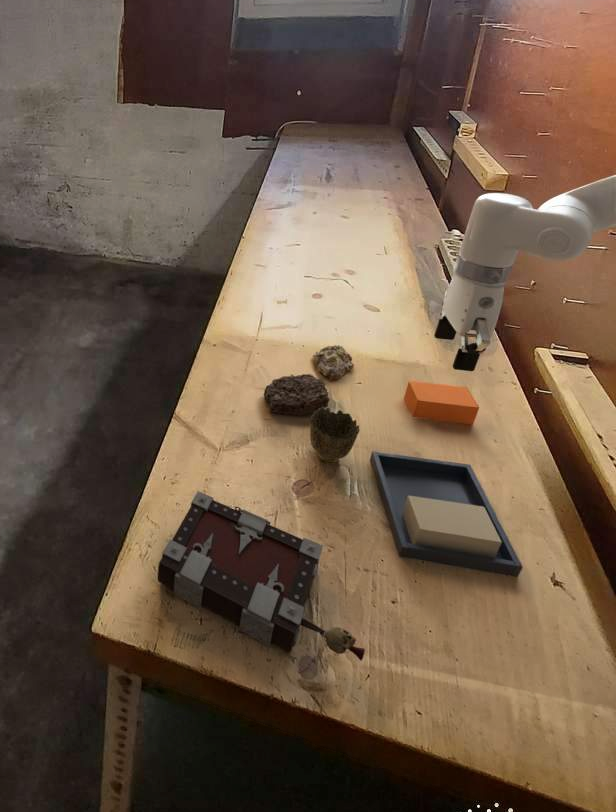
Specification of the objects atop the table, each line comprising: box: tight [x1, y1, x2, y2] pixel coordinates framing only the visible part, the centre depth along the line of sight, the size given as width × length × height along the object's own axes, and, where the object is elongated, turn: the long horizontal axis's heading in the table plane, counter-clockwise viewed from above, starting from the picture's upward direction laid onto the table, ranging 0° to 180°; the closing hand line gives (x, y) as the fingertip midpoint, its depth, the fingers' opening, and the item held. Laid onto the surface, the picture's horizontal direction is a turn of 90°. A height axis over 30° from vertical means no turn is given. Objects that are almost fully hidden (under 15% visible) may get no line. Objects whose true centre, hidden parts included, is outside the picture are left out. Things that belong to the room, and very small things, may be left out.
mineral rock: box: [312, 344, 355, 380], centre depth 119 cm, size 11×4×8 cm
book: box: [157, 490, 366, 662], centre depth 74 cm, size 15×25×5 cm, turn 57°
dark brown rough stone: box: [263, 373, 331, 416], centre depth 108 cm, size 12×10×5 cm
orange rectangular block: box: [403, 380, 480, 426], centre depth 105 cm, size 10×6×4 cm, turn 76°
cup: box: [309, 407, 361, 464], centre depth 95 cm, size 8×7×8 cm
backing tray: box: [369, 451, 523, 578], centre depth 85 cm, size 15×19×3 cm
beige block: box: [402, 495, 502, 558], centre depth 80 cm, size 10×6×4 cm, turn 76°
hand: (452, 353), depth 101 cm, fingers open, 9 cm apart
